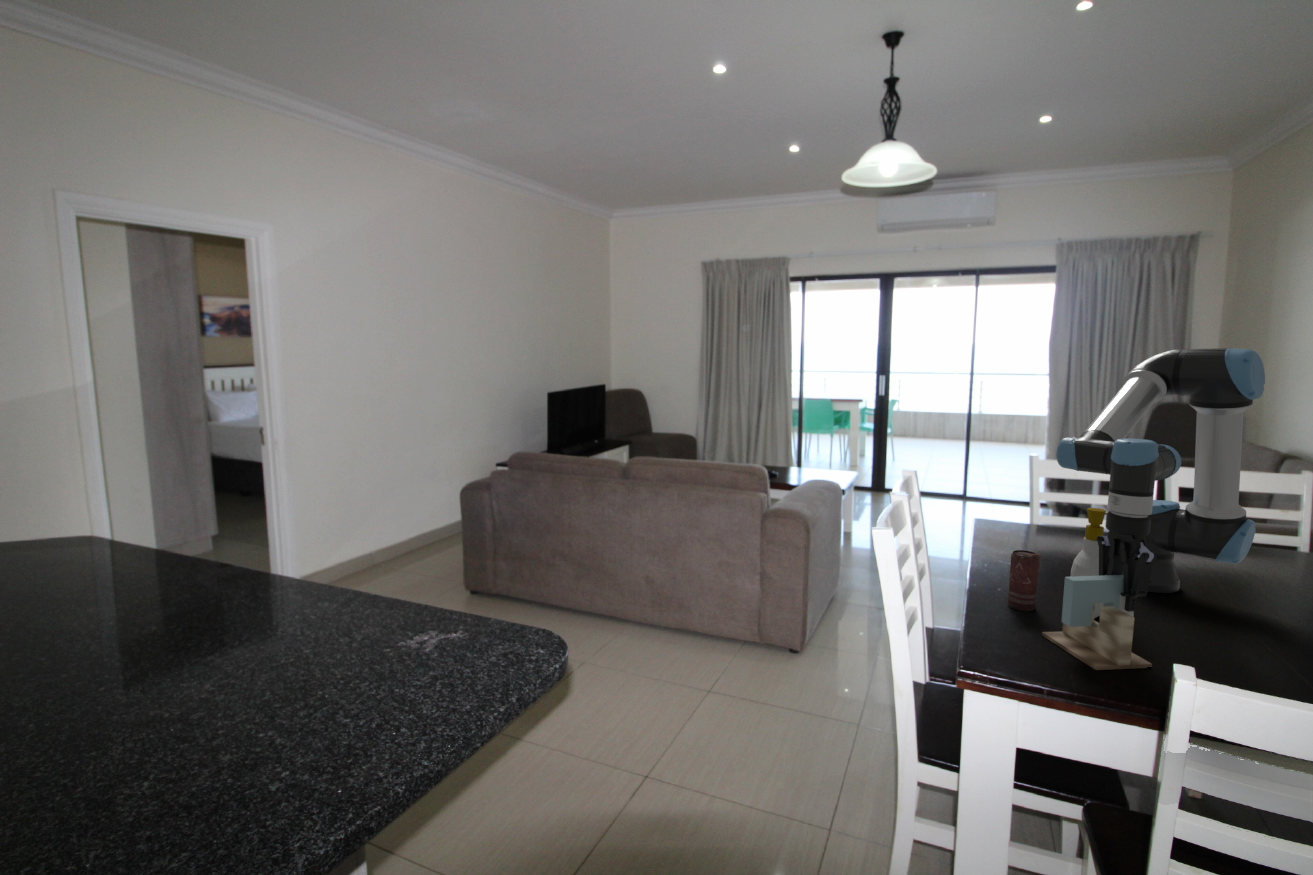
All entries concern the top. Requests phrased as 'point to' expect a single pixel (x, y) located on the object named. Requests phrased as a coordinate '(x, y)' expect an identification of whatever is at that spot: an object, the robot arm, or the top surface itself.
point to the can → (1023, 580)
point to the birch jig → (1101, 641)
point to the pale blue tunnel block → (1089, 597)
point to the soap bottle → (1090, 550)
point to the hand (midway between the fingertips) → (1118, 620)
